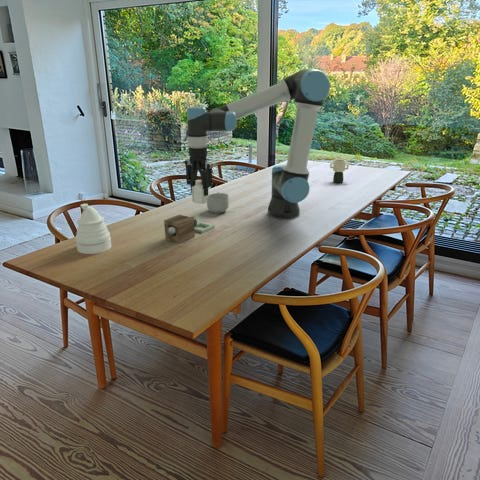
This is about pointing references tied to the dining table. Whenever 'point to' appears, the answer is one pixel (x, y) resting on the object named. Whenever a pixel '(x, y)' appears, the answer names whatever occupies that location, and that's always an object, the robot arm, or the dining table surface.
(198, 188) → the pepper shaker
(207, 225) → the keeper socket
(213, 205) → the teacup
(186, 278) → the dining table surface
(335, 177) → the trophy cup
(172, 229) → the shaft
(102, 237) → the honey pot
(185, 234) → the bearing block
